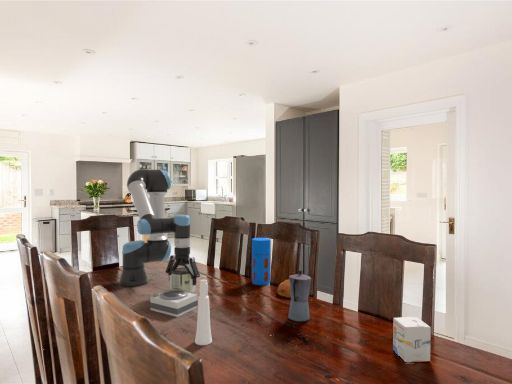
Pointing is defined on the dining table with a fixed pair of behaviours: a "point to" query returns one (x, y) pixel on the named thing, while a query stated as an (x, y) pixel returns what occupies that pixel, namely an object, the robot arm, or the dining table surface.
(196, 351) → the dining table surface
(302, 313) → the moka pot
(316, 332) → the dining table surface
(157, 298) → the kitchen scale
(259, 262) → the thermos
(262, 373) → the dining table surface
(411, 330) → the ink box
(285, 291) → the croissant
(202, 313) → the cosmetic bottle
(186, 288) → the coffee can
